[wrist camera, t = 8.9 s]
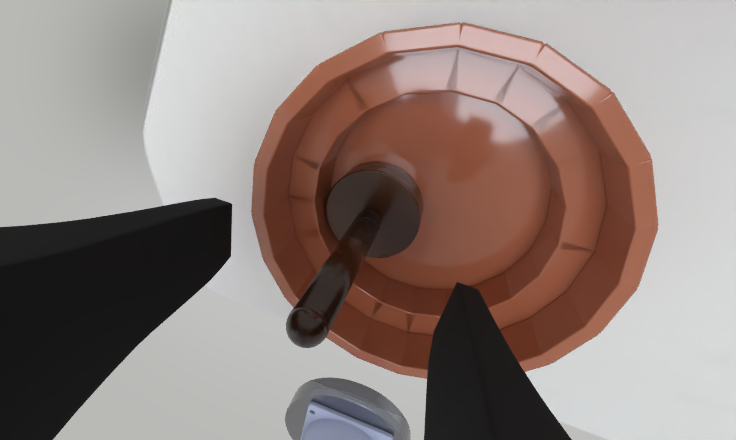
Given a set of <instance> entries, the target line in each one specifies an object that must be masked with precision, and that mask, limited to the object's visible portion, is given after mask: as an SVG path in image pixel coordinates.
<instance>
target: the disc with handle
mask: <svg viewBox="0 0 736 440" xmlns="http://www.w3.org/2000/svg"><path fill="white" fill-rule="evenodd" d="M326 213H327V219H328V223H329V226H330V228H331V230H332V232H333V233H334V235H335V236H336V238H337V239H338V240H339V243H338V244H337V245H336V247H335V248H334V250H333V251H332V253H331V254H330V256H329V257H328V259H327V260H326V262H325V263H324V264H323V266H322V267H321V269H320V270H319V272H318V273H317V275H316V276H315V278H314V279H313V280H312V282H311V283H310V285H309V286H308V288H307V289H306V291H305V292H304V294H303V295H302V297H301V298H300V299H299V301H298V302H297V304H296V305H295V307H294V308H293V310H292V311H291V313H290V314H289V316H288V319H287V322H286V330H287V334H288V336H289V338H290V340H291V341H292V342H293V343H294V344H296V345H297V346H300V347H303V348H311V347H315V346H317V345H318V344H320V343H321V342H322V341H323V340H324V339H325V338H326V336H327V335H328V333H329V331H330V329H331V326H332V324H333V322H334V320H335V318H336V316H337V314H338V312H339V310H340V308H341V306H342V304H343V302H344V300H345V298H346V296H347V294H348V292H349V290H350V288H351V286H352V284H353V282H354V280H355V278H356V276H357V274H358V272H359V270H360V268H361V265H362V263H363V261H364V259H365V257H370V258H386V257H390V256H393V255H396V254H398V253H400V252H402V251H403V250H405V249H406V248H407V247H408V246H409V245H410V244H411V243H412V242H413V240H414V239H415V237H416V235H417V233H418V230H419V226H420V222H421V218H422V213H423V199H422V194H421V192H420V189H419V187H418V185H417V184H416V182H415V181H414V179H413V178H412V177H411V176H410V175H409V174H408V173H407V172H405V171H404V170H403V169H401V168H399V167H397V166H395V165H393V164H390V163H387V162H381V161H372V162H366V163H362V164H359V165H357V166H355V167H354V168H352V169H351V170H349V171H348V172H347V173H346V174H345V175H344V176H343V177H342V178H341V179H340V180H339V181H338V182H337V183H336V184H335V185H334V187H333V188H332V190H331V191H330V193H329V196H328V199H327V205H326Z"/></svg>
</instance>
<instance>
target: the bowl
mask: <svg viewBox="0 0 736 440" xmlns="http://www.w3.org/2000/svg"><path fill="white" fill-rule="evenodd" d="M372 161H381V162H387V163H390V164H393V165H395V166H397V167H399V168H401V169H403V170H404V171H405V172H407V173H408V174H409V175H410V176H411V177H412V178H413V179H414V181H415V182H416V184H417V185H418V187H419V189H420V192H421V194H422V199H423V213H422V218H421V222H420V226H419V230H418V233H417V235H416V237H415V239H414V240H413V242H412V243H411V244H410V245H409V246H408V247H407V248H406V249H405V250H403V251H402V252H400V253H398V254H396V255H393V256H390V257H386V258H370V257H365V259H364V261H363V263H362V265H361V268H360V270H359V272H358V274H357V276H356V278H355V280H354V282H353V284H352V286H351V288H350V290H349V292H348V294H347V296H346V298H345V300H344V302H343V304H342V306H341V308H340V310H339V312H338V314H337V316H336V318H335V320H334V322H333V324H332V326H331V329H330V331H329V333H328V335H327V336H326V338H328V339H329V340H331V341H332V342H334V343H335V344H337V345H338V346H340V347H341V348H343V349H344V350H346V351H348V352H349V353H351V354H352V355H354V356H356V357H357V358H359V359H362V360H364V361H367V362H370V363H372V364H375V365H377V366H380V367H382V368H385V369H387V370H390V371H393V372H395V373H398V374H402V375H409V376H414V377H420V378H426V379H427V374H428V361H429V355H430V349H431V343H432V338H433V332H434V330H435V327H436V325H437V323H438V321H439V319H440V317H441V315H442V313H443V311H444V308H445V306H446V304H447V302H448V300H449V298H450V296H451V294H452V291H453V289H454V287H455V285H456V283H457V282H459V283H462V284H465V285H467V286H470V287H473V288H476V289H478V290H479V292H480V294H481V295H482V297H483V299H484V301H485V303H486V305H487V307H488V309H489V311H490V313H491V315H492V316H493V318H494V320H495V322H496V324H497V326H498V328H499V329H500V331H501V333H502V335H503V337H504V338H505V340H506V342H507V344H508V346H509V347H510V349H511V351H512V352H513V354H514V356H515V357H516V359H517V361H518V362H519V364H520V366H521V367H522V369H523V370H524V372H526V371H529V370H533V369H536V368H539V367H543V366H546V365H549V364H550V363H554V362H555V361H557V360H558V359H560V358H562V357H563V356H565V355H567V354H568V353H570V352H571V351H573V350H575V349H576V348H578V347H579V346H581V345H583V344H584V343H586V342H587V341H589V340H591V339H592V338H594V337H596V336H597V335H598V334H599V333H601V332H602V330H603V329H604V328H605V327H606V326H607V325H608V323H609V322H610V321H611V320H612V319H613V317H614V316H615V315H616V314H617V313H618V311H619V310H620V309H621V308H622V307H623V306H624V304H625V303H626V302H627V301H628V300H629V298H630V297H631V296H632V295H633V294H634V292H635V291H636V290H637V287H639V284H640V281H641V278H642V275H643V272H644V269H645V266H646V263H647V260H648V257H649V254H650V251H651V248H652V245H653V242H654V239H655V237H656V234H657V231H658V228H657V227H658V217H657V206H656V196H655V186H654V175H653V165H652V159H651V155H650V153H649V152H648V150H647V148H646V147H645V145H644V143H643V141H642V140H641V138H640V136H639V135H638V133H637V131H636V130H635V128H634V126H633V124H632V123H631V121H630V119H629V118H628V116H627V114H626V113H625V111H624V109H623V108H622V106H621V104H620V102H619V101H618V99H617V97H616V96H615V94H614V93H613V92H611V90H610V89H609V88H608V87H606V86H605V85H603V84H602V83H601V82H599V81H598V80H597V79H595V78H594V77H592V76H591V75H590V74H588V73H587V72H585V71H584V70H583V69H581V68H580V67H578V66H577V65H576V64H574V63H573V62H571V61H570V60H569V59H567V58H566V57H565V56H563V55H562V54H560V53H559V52H558V51H556V50H555V49H553V48H552V47H551V46H549V45H548V44H544V43H543V42H541V41H537V40H533V39H529V38H525V37H521V36H517V35H513V34H509V33H505V32H501V31H497V30H493V29H489V28H484V27H480V26H476V25H472V24H468V23H462V24H461V23H460V22H458V23H450V24H441V25H433V26H425V27H417V28H408V29H400V30H392V31H384V32H383V33H378V34H376V35H374V36H372V37H370V38H369V39H367V40H365V41H363V42H361V43H359V44H357V45H355V46H353V47H351V48H349V49H347V50H345V51H343V52H341V53H339V54H338V55H336V56H334V57H332V58H330V59H328V60H326V61H324V62H322V63H320V64H319V65H317V66H316V67H315V68H314V69H313V70H312V71H311V72H310V74H309V75H308V76H307V77H306V78H305V79H304V80H303V81H302V82H301V83H300V85H299V86H298V87H297V88H296V89H295V90H294V91H293V92H292V93H291V94H290V96H289V97H288V98H287V99H286V100H285V101H284V102H283V103H282V104H281V105H280V106H279V108H278V109H277V110H276V111H275V113H274V116H273V118H272V121H271V123H270V126H269V128H268V131H267V133H266V135H265V138H264V140H263V143H262V145H261V148H260V150H259V153H258V155H257V157H256V160H255V164H254V176H253V193H252V211H251V212H252V218H253V222H254V226H255V230H256V234H257V238H258V242H259V246H260V250H261V254H262V257H263V260H264V262H265V264H266V265H267V267H268V269H269V271H270V272H271V274H272V276H273V278H274V279H275V281H276V283H277V285H278V286H279V288H280V290H281V292H282V293H283V295H284V297H285V298H286V299H287V301H288V302H289V303H290V304H291V305H292V306H293V307H295V305H296V304H297V302H298V301H299V299H300V298H301V297H302V295H303V294H304V292H305V291H306V289H307V288H308V286H309V285H310V283H311V282H312V280H313V279H314V278H315V276H316V275H317V273H318V272H319V270H320V269H321V267H322V266H323V264H324V263H325V262H326V260H327V259H328V257H329V256H330V254H331V253H332V251H333V250H334V248H335V247H336V245H337V244H338V243H339V240H338V239H337V238H336V236H335V235H334V233H333V232H332V230H331V228H330V226H329V223H328V219H327V213H326V205H327V199H328V196H329V193H330V191H331V190H332V188H333V187H334V185H335V184H336V183H337V182H338V181H339V180H340V179H341V178H342V177H343V176H344V175H345V174H346V173H347V172H348V171H349V170H351V169H352V168H354V167H355V166H357V165H359V164H362V163H366V162H372Z"/></svg>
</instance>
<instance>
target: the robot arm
mask: <svg viewBox="0 0 736 440" xmlns="http://www.w3.org/2000/svg"><path fill="white" fill-rule="evenodd" d="M231 224H232V204H231V203H228V202H225V201H222V200H219V199H216V198H209V199H200V200H194V201H188V202H182V203H177V204H171V205H166V206H161V207H155V208H150V209H144V210H139V211H134V212H127V213H121V214H115V215H109V216H102V217H96V218H90V219H82V220H75V221H67V222H58V223H48V224H38V225H27V226H14V227H0V440H53V439H54V437H55V436H56V435H57V434H58V433H59V432H60V430H61V429H62V428H63V427H64V426H65V424H66V423H67V422H68V421H69V420H70V419H71V417H72V416H73V415H74V414H75V413H76V411H77V410H78V409H79V408H80V407H81V406H82V405H83V404H84V402H85V401H86V400H87V399H88V398H89V397H90V396H91V395H92V394H93V392H94V391H95V390H96V389H97V388H98V387H99V386H100V385H101V384H102V382H103V381H104V380H105V379H106V378H107V377H108V376H109V375H110V374H111V373H112V371H113V370H114V369H115V368H116V367H117V366H118V365H119V364H120V363H121V362H122V361H123V360H124V359H125V358H126V357H127V356H128V355H129V354H130V353H131V351H132V350H133V349H134V348H135V347H136V346H137V345H138V344H139V343H140V342H142V341H143V340H144V339H145V338H146V337H147V336H148V335H149V334H150V333H151V332H152V331H153V330H155V329H156V328H157V327H158V326H159V325H160V324H161V323H163V321H165V320H166V319H167V318H168V317H169V316H170V315H172V314H173V313H174V312H175V311H176V310H177V309H179V308H180V307H181V306H182V305H183V304H184V303H185V302H186V301H188V299H190V298H191V297H192V296H193V295H194V294H195V293H197V292H198V291H199V290H200V289H201V288H202V287H203V286H205V285H206V284H207V283H208V282H209V281H210V280H211V279H212V278H213V277H214V275H215V274H216V273H217V272H218V271H219V270H220V269H221V268H222V266H223V265H224V264H225V263H226V262H227V260H228V259H229V258H230V257H231ZM393 438H394V437H393V435H392V434H391V433H389V432H386V431H384V430H382V429H379V428H377V427H374V426H372V425H370V424H367V423H365V422H362V421H360V420H358V419H355V418H353V417H350V416H348V415H345V414H343V413H341V412H338V411H336V410H333V409H331V408H329V407H326V406H324V405H321V404H319V403H317V402H310V404H309V406H308V410H307V414H306V418H305V422H304V427H303V431H302V435H301V439H300V440H393ZM424 440H571V438H570V437H569V436H568V434H567V433H566V431H565V430H564V429H563V427H562V426H561V425H560V423H559V422H558V421H557V419H556V418H555V416H554V415H553V414H552V412H551V411H550V410H549V408H548V407H547V405H546V404H545V402H544V401H543V400H542V398H541V397H540V395H539V394H538V392H537V391H536V389H535V388H534V386H533V384H532V383H531V381H530V380H529V378H528V377H527V375H526V374H525V372H524V370H523V369H522V367H521V366H520V364H519V362H518V361H517V359H516V357H515V356H514V354H513V352H512V351H511V349H510V347H509V346H508V344H507V342H506V340H505V338H504V337H503V335H502V333H501V331H500V329H499V328H498V326H497V324H496V322H495V320H494V318H493V316H492V315H491V313H490V311H489V309H488V307H487V305H486V303H485V301H484V299H483V297H482V295H481V294H480V292H479V290H478V289H476V288H473V287H470V286H467V285H465V284H462V283H459V282H457V283H456V285H455V287H454V289H453V291H452V294H451V296H450V298H449V300H448V302H447V304H446V306H445V308H444V311H443V313H442V315H441V317H440V319H439V321H438V323H437V325H436V327H435V330H434V332H433V338H432V343H431V349H430V355H429V361H428V374H427V393H426V413H425V435H424Z"/></svg>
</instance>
